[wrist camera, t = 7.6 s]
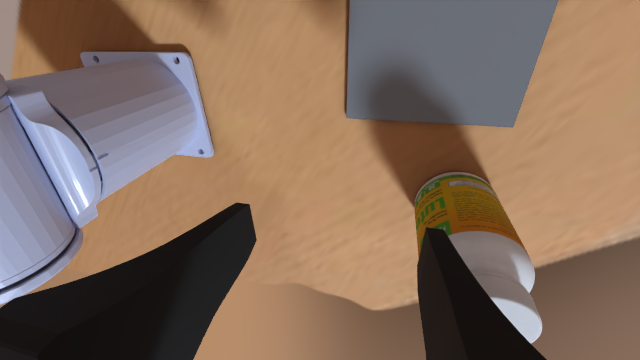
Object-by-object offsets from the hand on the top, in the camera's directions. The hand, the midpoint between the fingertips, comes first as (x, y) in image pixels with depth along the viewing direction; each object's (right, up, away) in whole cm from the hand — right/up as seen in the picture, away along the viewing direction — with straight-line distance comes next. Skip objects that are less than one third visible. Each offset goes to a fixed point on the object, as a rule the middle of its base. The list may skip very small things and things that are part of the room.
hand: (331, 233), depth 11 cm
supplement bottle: (+9, +1, +9) cm, 13 cm away
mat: (+6, +10, +4) cm, 13 cm away
